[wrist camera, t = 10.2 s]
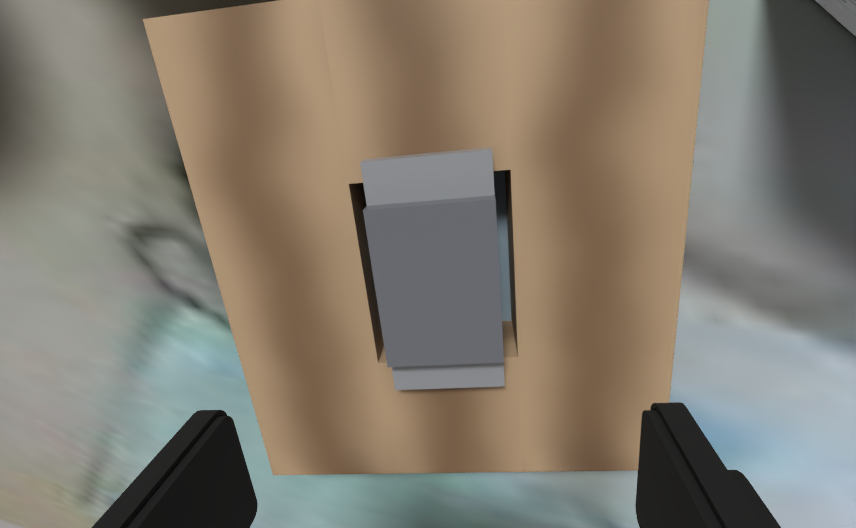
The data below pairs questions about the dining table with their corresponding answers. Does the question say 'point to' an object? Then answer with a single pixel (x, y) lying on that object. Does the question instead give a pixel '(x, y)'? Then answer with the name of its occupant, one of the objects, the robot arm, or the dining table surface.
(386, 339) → the flanged block
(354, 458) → the wooden board
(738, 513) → the robot arm
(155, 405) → the dining table surface
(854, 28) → the ink cartridge box
